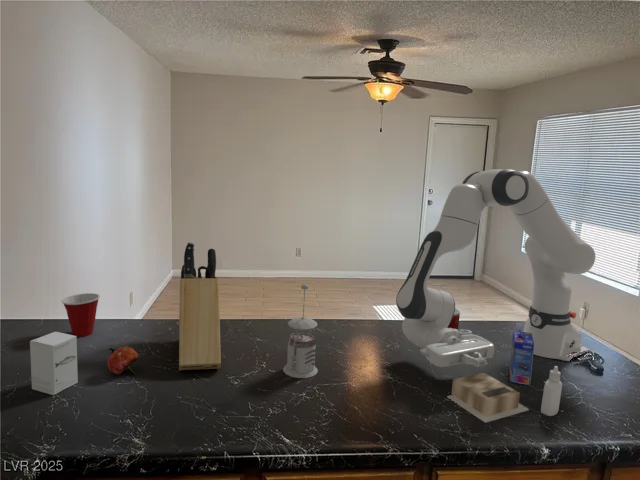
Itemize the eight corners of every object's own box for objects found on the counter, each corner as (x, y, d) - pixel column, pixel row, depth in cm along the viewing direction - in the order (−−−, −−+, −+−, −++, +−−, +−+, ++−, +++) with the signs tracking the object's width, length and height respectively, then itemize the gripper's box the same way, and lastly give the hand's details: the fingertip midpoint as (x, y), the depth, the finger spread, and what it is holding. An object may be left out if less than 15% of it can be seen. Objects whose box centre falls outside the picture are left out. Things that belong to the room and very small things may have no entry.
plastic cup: (70, 327, 158) (69, 291, 156) (105, 327, 159) (104, 292, 157) (56, 339, 147) (55, 301, 145) (93, 340, 148) (92, 302, 146)
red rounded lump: (141, 375, 132) (119, 349, 134) (151, 360, 129) (128, 333, 130) (119, 389, 126) (96, 361, 128) (129, 374, 122) (105, 345, 124)
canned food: (457, 347, 159) (461, 315, 157) (432, 343, 161) (435, 312, 159) (455, 338, 167) (459, 308, 165) (432, 335, 168) (435, 305, 166)
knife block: (213, 327, 164) (215, 238, 159) (221, 373, 131) (223, 262, 126) (179, 329, 161) (179, 238, 156) (178, 376, 128) (178, 263, 122)
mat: (488, 387, 132) (489, 386, 132) (528, 410, 121) (528, 409, 121) (447, 397, 125) (447, 396, 125) (485, 422, 114) (485, 421, 114)
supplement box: (53, 396, 115) (51, 346, 113) (31, 389, 117) (28, 340, 115) (79, 383, 122) (77, 335, 119) (56, 377, 124) (54, 330, 122)
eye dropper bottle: (533, 407, 122) (540, 363, 120) (553, 406, 123) (559, 362, 121) (545, 417, 118) (552, 371, 116) (565, 415, 119) (572, 370, 117)
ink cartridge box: (507, 368, 145) (513, 322, 143) (527, 371, 143) (534, 325, 141) (509, 382, 136) (515, 333, 133) (530, 386, 134) (537, 336, 132)
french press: (323, 367, 138) (328, 283, 134) (305, 383, 128) (310, 293, 124) (293, 359, 142) (297, 277, 138) (273, 375, 132) (276, 286, 128)
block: (483, 372, 131) (520, 392, 120) (481, 386, 132) (518, 407, 121) (453, 379, 126) (488, 400, 115) (451, 393, 126) (486, 416, 116)
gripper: (417, 338, 131) (453, 358, 119) (472, 328, 140) (511, 346, 128) (414, 359, 132) (450, 382, 120) (470, 349, 141) (508, 368, 129)
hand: (482, 363), depth 124 cm, fingers closed
